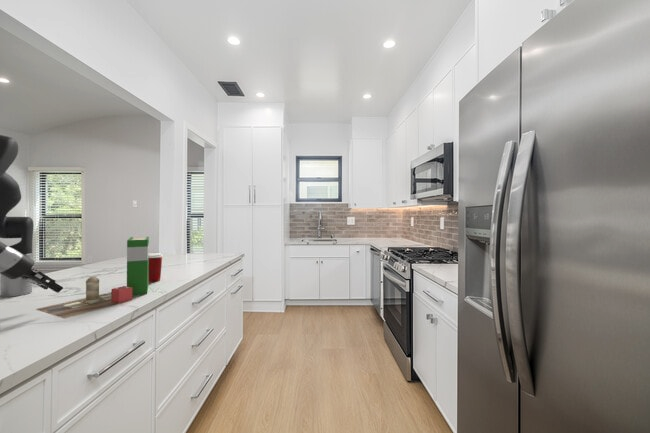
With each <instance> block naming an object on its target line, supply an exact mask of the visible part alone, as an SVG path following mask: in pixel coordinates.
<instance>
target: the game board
mask: <svg viewBox="0 0 650 433" xmlns="http://www.w3.org/2000/svg"><path fill="white" fill-rule="evenodd" d="M99 297H101V301H98V302H93V303H83V300H84V299H86V297H84V298H79V299H75V300H69V301H66V302H61V303H57V304H52V305H48V306H43V307H39V308H35V310H36V311H39V312H43V313H46V314H49V315H52V316H55V317H58V318H59V317H60V318H62V319H67V318H71V317H74V316H78V315H82V314H86V313H89V312H90V313H91V312H93V311H97V310H101V309H104V308H109V307H112V306H113V307H114V306H116V305H119V304H123V303H128V302H131V301H133V299H132V300H129V301H125V302H121V303H117V302H112V301H111V294H110V293H109V294H108V293H102V294H99Z"/></svg>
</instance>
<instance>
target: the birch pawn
mask: <svg viewBox="0 0 650 433" xmlns="http://www.w3.org/2000/svg"><path fill="white" fill-rule="evenodd" d="M99 295H100V279H99V278H98V277H97V276H90V277H88V278H87V279H86V281H85V298H86V299H84V300H83V303H93V302H98V301H101V297H99Z"/></svg>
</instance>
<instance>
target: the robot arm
mask: <svg viewBox="0 0 650 433" xmlns="http://www.w3.org/2000/svg"><path fill="white" fill-rule="evenodd" d="M18 154H19V144H18V142H17V140H16V139H15V138H13V137H10V136H7V135H1V134H0V238H1V239H21V240H20V241H19V242H17V243H15V244H12V245H9V246H8V245H7V244H5V243H3V242H2V241H0V297H2V298H7V297H8V298H9V297H10V298H11V297H18V296H19V297H20V296H23V295H27V294H31V293H32V292H33V285H36V286H38V287H40V288H41V289H44V290H48V289H50V290H51V291H53V292H55V293H57V294H58V293H61V291H62V290H63V289H64V287H63V286H62V285H60V284H58V283H57V282H56V280H55V279H53V278H51V277H50V276H48V275H46V274H45V273H43V271H41V270H38V269H35V268H33V267H34V266H35V261H34V260H33V239H34V238H33V236H34V220H33V218H32V217H31V216H7V215H8V214H9V213H10V211H12V210H13V209H14V208H15V207H16V206H17V205H18V204H19V203H20V202H21V199H22V192H21V188H20V185H19V183H18V181H16V180H15V178H14V177H13V176H11V175H10V174H9V173H7V171H8V169H9V168H10V167H11V165H12V164H13V163H14V162H15V160H16V159H17V156H18Z"/></svg>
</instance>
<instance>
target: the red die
mask: <svg viewBox="0 0 650 433" xmlns="http://www.w3.org/2000/svg"><path fill="white" fill-rule="evenodd" d="M110 295H111V301H112V302H117V303H121V302H124V303H126V302H125V301H128V302H130V301H129V300H132V301H133V296H132V287H127V285H123V286H119V287H113V288H111V294H110ZM121 304H122V303H121Z"/></svg>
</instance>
